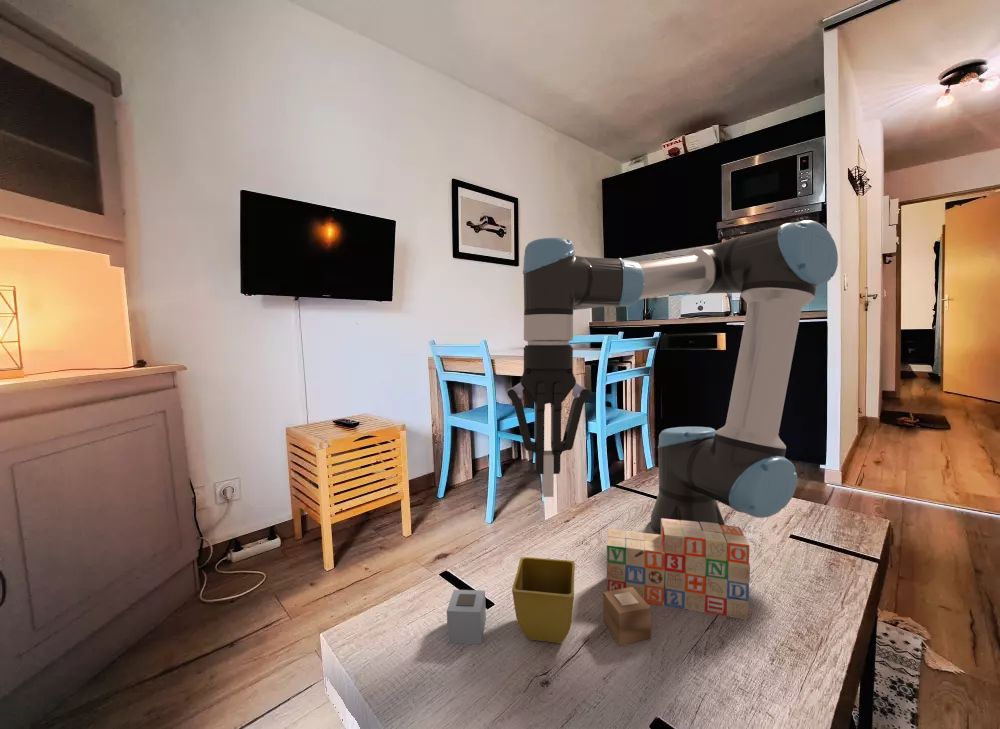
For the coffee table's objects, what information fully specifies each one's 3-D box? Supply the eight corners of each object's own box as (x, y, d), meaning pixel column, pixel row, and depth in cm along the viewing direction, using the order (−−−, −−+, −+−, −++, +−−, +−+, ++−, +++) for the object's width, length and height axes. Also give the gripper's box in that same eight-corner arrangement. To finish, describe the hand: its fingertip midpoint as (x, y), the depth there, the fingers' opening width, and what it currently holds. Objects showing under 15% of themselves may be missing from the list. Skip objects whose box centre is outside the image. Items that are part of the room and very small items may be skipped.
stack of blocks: (606, 597, 70) (605, 527, 69) (608, 576, 76) (607, 511, 75) (749, 620, 63) (750, 544, 62) (739, 595, 69) (740, 525, 68)
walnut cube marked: (632, 616, 65) (632, 585, 64) (650, 640, 60) (650, 606, 59) (603, 622, 64) (603, 591, 63) (619, 646, 59) (619, 612, 58)
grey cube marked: (486, 620, 65) (484, 589, 64) (481, 644, 60) (480, 611, 60) (455, 619, 65) (453, 588, 65) (448, 643, 60) (446, 610, 60)
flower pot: (575, 657, 57) (573, 595, 56) (513, 649, 59) (511, 589, 58) (576, 614, 66) (575, 560, 65) (522, 608, 67) (520, 556, 67)
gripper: (584, 343, 67) (583, 484, 68) (504, 343, 66) (505, 485, 68) (596, 343, 59) (594, 502, 61) (506, 344, 59) (506, 503, 60)
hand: (547, 493), depth 64 cm, fingers closed
